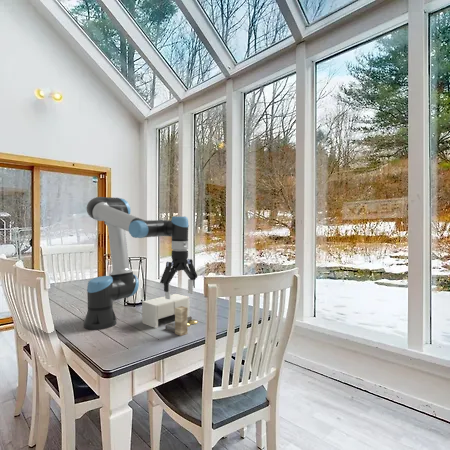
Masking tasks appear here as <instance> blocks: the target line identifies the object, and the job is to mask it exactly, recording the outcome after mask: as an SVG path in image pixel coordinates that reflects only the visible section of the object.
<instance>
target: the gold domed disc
mask: <svg viewBox="0 0 450 450" xmlns="http://www.w3.org/2000/svg"><path fill="white" fill-rule="evenodd" d="M189 323H190V325H196V324H199V323H198V320H197V319H192V320H190V321H189Z"/></svg>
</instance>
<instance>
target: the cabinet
mask: <svg viewBox="0 0 450 450" xmlns="http://www.w3.org/2000/svg"><path fill="white" fill-rule="evenodd" d="M190 301H191V300H190V296H187V295H183V294H179V293H174V294H170V299H166V298H165V295H164V296H160V297H156V298H152V299H148V300H142V302H141V303H142V304H141V308H142V310H141V311H142V314H141V315H142V320H141V321H142V324H144V325H147V326H149V327H151V328H154V329H157V328H159V320H160V319H164V318H168V317H171V316H175V308H177V307H180V306H183V307H187V317H189V316H190V315H191V314H190V310H191V309H190V308H191V307H190V304H191V303H190Z"/></svg>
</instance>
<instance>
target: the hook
mask: <svg viewBox="0 0 450 450" xmlns="http://www.w3.org/2000/svg"><path fill="white" fill-rule="evenodd" d="M192 318H193V317H192V316H189V317H187V307H183V306H180V307H177V308H175V315H174V321H172V322H168V323H165V329H164V330H167V331H168V332H172V333H174V334H175V335H177V336H180V337H182V336H184V335H188V327H187V322H189V321H190V320H193V319H192Z"/></svg>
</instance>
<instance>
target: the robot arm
mask: <svg viewBox="0 0 450 450" xmlns="http://www.w3.org/2000/svg"><path fill="white" fill-rule="evenodd" d="M86 213H87V215H88V216H89V217H90V219H91V218H92V219H93V220H95V221H97V222H104V225H106V226H107V229H108V231H107V232H108V239H109V241H108V242H109V249H110V257H111V258H110V259H111V267H112V271H111V273H110V275H103V276H96V277H94V278H91V279H90V280H88V282H87V287H86V292H87V312H86V315H85V318H84V320H83V328H85V329H86V330H89V331H90V330H91V331H93V330H94V331H99V330H104V329H106V330H107V329H109V328H112V327H114V326H115V325H117V317H116V313H115V311H114V308H113V307H114V306H113V305H114V304H113V302H114V301H117V300H123V299H128V298H130V297H132V296H134V295H136V293H137V292H138V290H139V287H140V284H139V283H140V281H139V278H138V277H137V275H136V274H134V271H133V270H132V269H130V261H129V253H128V251H129V250H128V244H127V243H128V242H127V236H126V235H127V234H126V232H128V233H129V234H130V236H131V237H132V238H135V239H144V238H154V237H155V238H157V237H171V260H172V261H166V264H165V268H164V271H163V272H162V273H163V274H162V276H161V278H160V281H159V283H160V284H163V291H164V296H165V298H166V299H170V295H171V284H170V283H171V281H172V280H173V278H174V276H176V275H175V274H176V273H178V272H180V271H184V273H185V274H186V276H187V277H188V280H187V293H188V294H191V295H194V287H195V280H197V278H198V275H197V274H198V273H197V272H196V269H195V267H194V264H193V263H194V262H193V261H194V260H193V259H191V258H189V251H188V249H189V226H190V225H189V219H188V217H187V216H178V215H177V216H176V215H175V216H172V217H171V220H168V219H167V220H166V219H156V220H154V219H153V220H152V219H151V220H150V219H149V220H145V219H142V218H139V217H137V216H136V215H135V216H134V215H132V214H131V206H130V204H129V202H128V201H127V200H126V199H124V198H120V197H110V196H109V197H105V196H98V197H94V198H91V199H90V200H89V201H88V203H87V205H86Z"/></svg>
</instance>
